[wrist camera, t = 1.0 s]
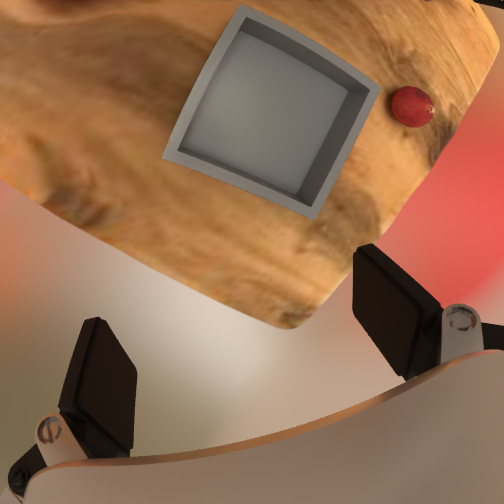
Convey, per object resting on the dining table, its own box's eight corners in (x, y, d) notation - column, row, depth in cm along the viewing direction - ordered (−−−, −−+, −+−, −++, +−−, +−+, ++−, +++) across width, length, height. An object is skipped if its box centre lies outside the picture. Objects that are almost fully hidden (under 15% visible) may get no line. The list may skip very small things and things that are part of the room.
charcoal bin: (232, 20, 26) (240, 3, 21) (355, 88, 32) (381, 87, 27) (166, 151, 32) (161, 157, 26) (296, 204, 38) (314, 220, 33)
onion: (378, 85, 32) (416, 84, 25) (408, 87, 33) (446, 89, 26) (382, 124, 35) (419, 131, 28) (411, 124, 36) (448, 132, 29)
